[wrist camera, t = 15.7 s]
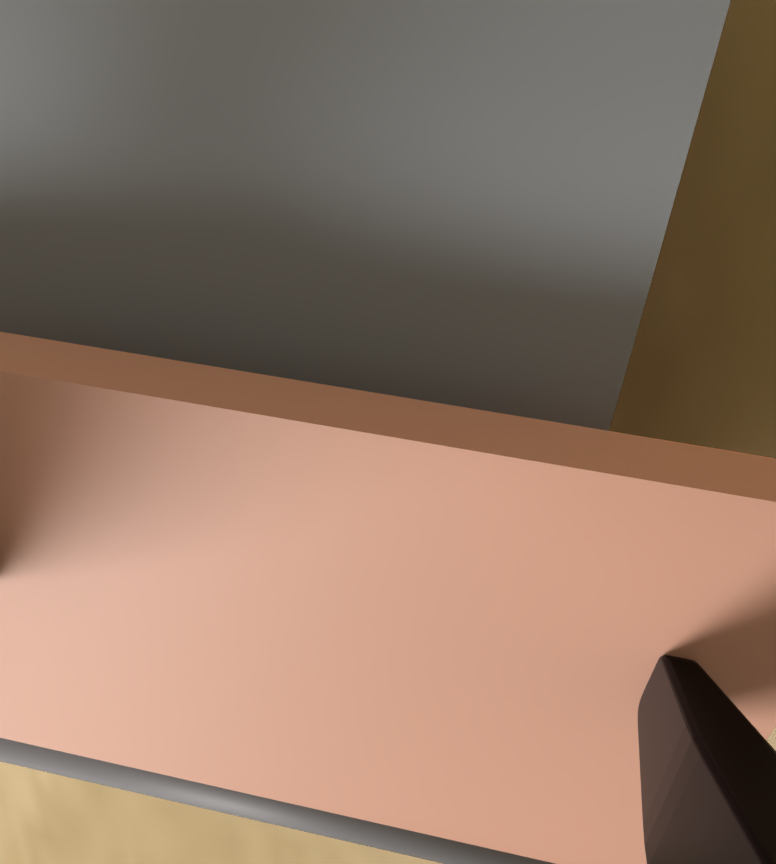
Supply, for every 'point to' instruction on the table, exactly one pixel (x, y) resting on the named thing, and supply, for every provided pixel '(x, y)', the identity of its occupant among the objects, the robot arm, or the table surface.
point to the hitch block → (351, 186)
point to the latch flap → (361, 602)
